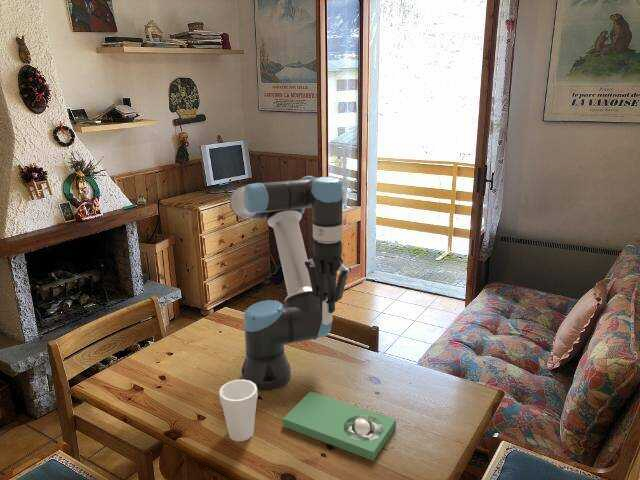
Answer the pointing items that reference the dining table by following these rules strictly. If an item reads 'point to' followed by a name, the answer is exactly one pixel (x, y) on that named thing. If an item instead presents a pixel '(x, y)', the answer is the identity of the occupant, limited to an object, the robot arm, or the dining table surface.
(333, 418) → the green
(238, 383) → the foam cup
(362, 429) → the ball
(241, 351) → the dining table surface
